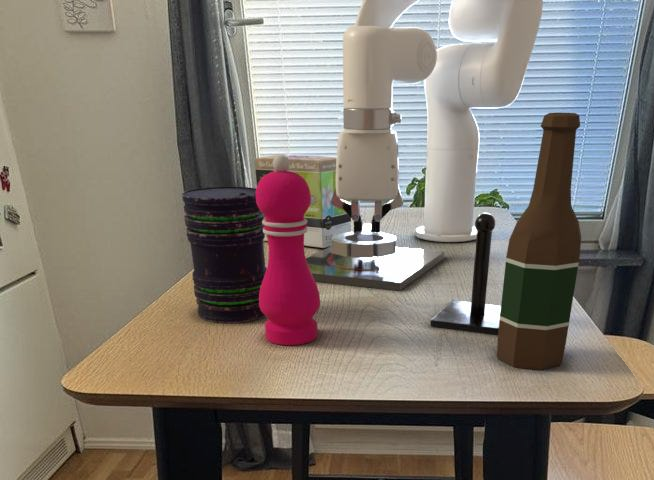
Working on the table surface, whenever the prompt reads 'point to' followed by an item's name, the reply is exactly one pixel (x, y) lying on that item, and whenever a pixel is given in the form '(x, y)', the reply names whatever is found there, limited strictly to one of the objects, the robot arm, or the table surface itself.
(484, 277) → the black peg stand
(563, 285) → the beer bottle
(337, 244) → the octagonal ring with handle
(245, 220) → the storage jar
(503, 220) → the table surface
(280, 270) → the pepper mill
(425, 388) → the table surface
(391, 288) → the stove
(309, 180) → the tea box
